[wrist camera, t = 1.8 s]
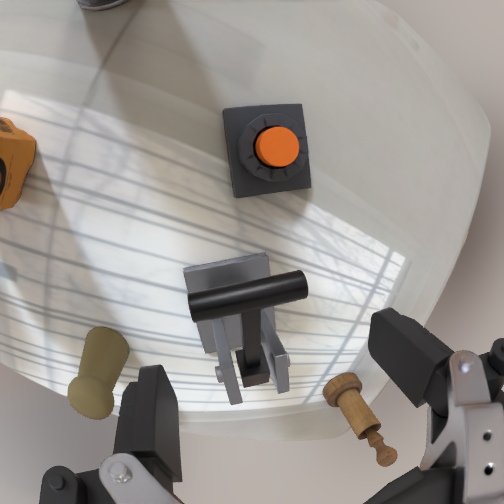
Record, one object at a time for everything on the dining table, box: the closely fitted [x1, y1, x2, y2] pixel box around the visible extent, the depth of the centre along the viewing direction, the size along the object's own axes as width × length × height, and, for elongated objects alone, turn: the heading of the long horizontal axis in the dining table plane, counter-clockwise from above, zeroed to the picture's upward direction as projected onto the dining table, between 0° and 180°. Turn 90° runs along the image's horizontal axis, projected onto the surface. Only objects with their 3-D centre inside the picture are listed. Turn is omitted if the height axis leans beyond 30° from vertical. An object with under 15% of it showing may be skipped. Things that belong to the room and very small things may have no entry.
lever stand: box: [183, 253, 290, 405], centre depth 25 cm, size 11×9×13 cm
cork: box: [68, 327, 129, 420], centre depth 24 cm, size 6×6×11 cm
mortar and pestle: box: [323, 373, 397, 467], centre depth 32 cm, size 7×6×18 cm
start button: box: [256, 127, 299, 167], centre depth 23 cm, size 4×4×2 cm
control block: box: [223, 104, 311, 198], centre depth 25 cm, size 9×8×3 cm
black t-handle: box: [188, 270, 308, 388], centre depth 18 cm, size 12×6×2 cm, turn 7°
